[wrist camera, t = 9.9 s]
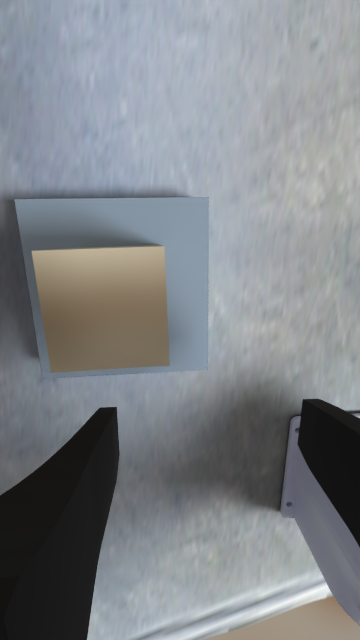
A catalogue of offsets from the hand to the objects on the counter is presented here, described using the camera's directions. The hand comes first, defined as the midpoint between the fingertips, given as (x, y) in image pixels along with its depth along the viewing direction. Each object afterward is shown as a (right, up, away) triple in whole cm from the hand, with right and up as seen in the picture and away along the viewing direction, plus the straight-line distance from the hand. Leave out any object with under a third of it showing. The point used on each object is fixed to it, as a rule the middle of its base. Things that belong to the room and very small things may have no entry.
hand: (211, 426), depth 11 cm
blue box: (-5, +6, +8) cm, 11 cm away
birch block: (-4, +6, +5) cm, 9 cm away
